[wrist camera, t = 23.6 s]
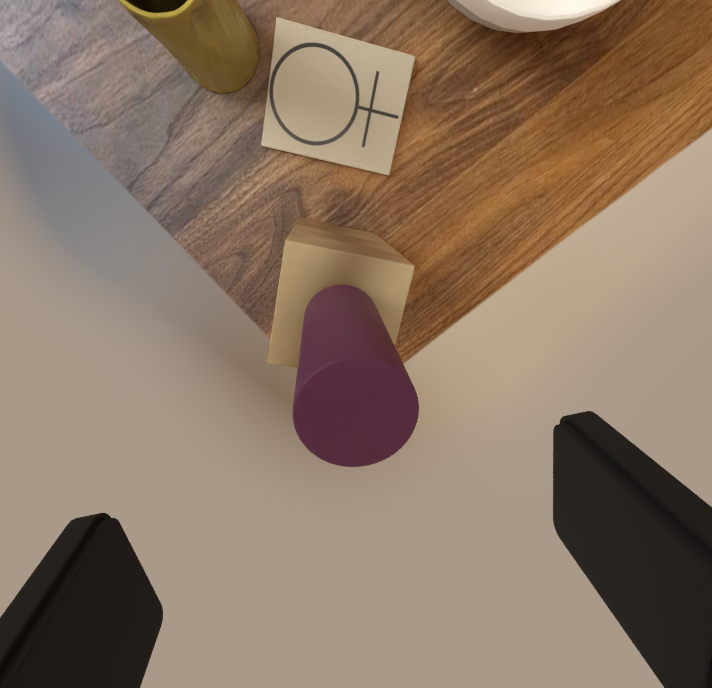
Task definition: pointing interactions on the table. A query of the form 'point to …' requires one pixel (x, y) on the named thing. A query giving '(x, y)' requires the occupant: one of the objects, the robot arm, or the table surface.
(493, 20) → the bowl
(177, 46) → the vase
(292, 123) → the sketch card
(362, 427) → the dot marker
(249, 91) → the table surface
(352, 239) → the stand
